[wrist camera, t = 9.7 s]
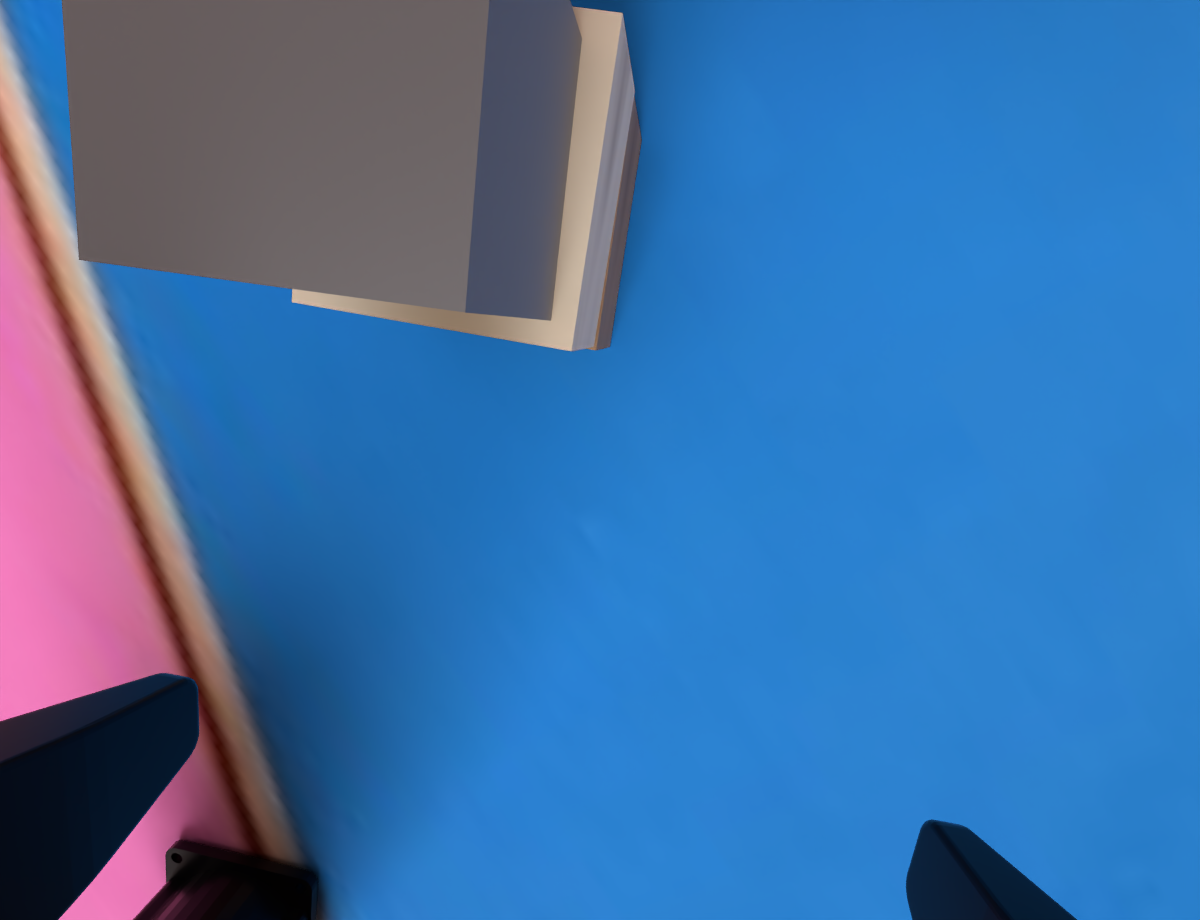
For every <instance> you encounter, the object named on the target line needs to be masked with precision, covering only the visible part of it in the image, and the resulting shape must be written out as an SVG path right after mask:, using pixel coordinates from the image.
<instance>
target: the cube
mask: <svg viewBox="0 0 1200 920" xmlns="http://www.w3.org/2000/svg"><path fill="white" fill-rule="evenodd" d="M62 10H63V25H64V40H65V55H66V70H67V85H68V100H69V115H70V130H71V145H72V160H73V175H74V190H75V205H76V220H77V235H78V250H79V260H85V261H92V262H100V263H107V264H114V265H121V266H129V267H136V268H143V269H151V270H158V271H165V272H173V273H180V274H187V275H195V276H202V277H209V278H216V279H224V280H231V281H238V282H246V283H253V284H260V285H268V286H275V287H282V288H290V289H297V290H304V291H311V292H319V293H326V294H333V295H341V296H348V297H355V298H363V299H370V300H377V301H385V302H392V303H399V304H406V305H414V306H421V307H428V308H436V309H443V310H450V311H458V312H465V313H475V314H486V315H496V316H507V317H517V318H528V319H538V320H548V321H551V317H552V308H553V299H554V290H555V281H556V272H557V263H558V253H559V244H560V235H561V226H562V217H563V208H564V199H565V190H566V181H567V172H568V162H569V153H570V144H571V135H572V126H573V117H574V108H575V99H576V90H577V80H578V71H579V62H580V53H581V44H582V37H581V33H580V30H579V27H578V24H577V20H576V17H575V14H574V11H573V8H572V4H571V1H570V0H62Z"/></svg>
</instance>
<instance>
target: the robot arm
mask: <svg viewBox="0 0 1200 920" xmlns="http://www.w3.org/2000/svg"><path fill="white" fill-rule="evenodd" d="M198 737H199V707H198V686H197V684H196V682H195V681H194V680H193V679H191V678H189V677H184V676H179V675H173V674H168V673H159V674H155V675H152V676H148V677H145V678H142V679H138V680H135V681H132V682H129V683H125V684H122V685H119V686H115V687H112V688H109V689H105V690H102V691H99V692H96V693H92V694H89V695H86V696H82V697H79V698H76V699H72V700H69V701H66V702H63V703H59V704H56V705H53V706H49V707H46V708H43V709H40V710H36V711H33V712H30V713H26V714H23V715H20V716H16V717H13V718H10V719H7V720H3V721H0V920H58V919H59V918H60V917H61V916H62V915H63V914H64V913H65V912H66V910H67V909H68V908H69V907H70V906H71V905H72V904H73V903H74V902H75V900H76V899H77V898H78V897H79V896H80V895H81V894H82V892H83V891H84V890H85V889H86V888H87V887H88V885H89V884H90V883H91V882H92V881H93V880H94V879H95V877H96V876H97V875H98V874H99V872H100V871H101V870H102V869H103V867H104V866H105V865H106V864H107V862H108V861H109V860H110V859H111V858H112V856H113V855H114V854H115V853H116V851H117V850H118V849H119V847H120V846H121V845H122V843H123V842H124V841H125V840H126V838H127V837H128V836H129V834H130V833H131V832H132V831H133V829H134V828H135V827H136V825H137V824H138V823H139V822H140V820H141V819H142V818H143V816H144V815H145V814H146V813H147V811H148V810H149V809H150V807H151V806H152V805H153V804H154V802H155V801H156V800H157V798H158V797H159V796H160V794H161V793H162V792H163V791H164V789H165V788H166V787H167V785H168V784H169V783H170V782H171V780H172V779H173V778H174V776H175V775H176V774H177V773H178V771H179V770H180V769H181V767H182V766H183V765H184V764H185V762H186V761H187V760H188V758H189V757H190V755H191V754H192V752H193V750H194V749H195V746H196V744H197V741H198ZM317 892H318V880H317V878H316V876H315V875H314V874H313V873H312V872H310V871H308V870H304V869H300V868H296V867H292V866H288V865H284V864H279V863H275V862H271V861H267V860H263V859H259V858H255V857H251V856H247V855H242V854H238V853H234V852H230V851H226V850H222V849H218V848H214V847H210V846H206V845H201V844H197V843H193V842H189V841H185V840H179V841H176V842H175V843H174V844H173V845H172V846H171V848H170V849H169V850H168V851H167V852H166V884H165V885H164V886H163V887H162V889H161V890H160V891H159V892H158V893H157V894H156V895H155V896H154V897H153V898H152V899H151V901H150V902H149V903H148V904H147V905H146V906H145V907H144V908H143V909H142V910H141V911H140V913H139V914H138V915H137V916H136V917H135V918H134V919H133V920H316V913H317ZM906 893H907V900H908V904H909V908H910V912H911V916H912V920H1077V919H1076V918H1074V917H1073V916H1072V915H1071V914H1070V913H1069V912H1067V911H1066V910H1065V909H1064V908H1063V907H1061V906H1060V905H1059V904H1058V903H1057V902H1055V901H1054V900H1053V899H1052V898H1051V897H1049V896H1048V895H1047V894H1046V893H1045V892H1044V891H1042V890H1041V889H1040V888H1039V887H1038V886H1036V885H1035V884H1034V883H1033V882H1032V881H1030V880H1029V879H1028V878H1027V877H1026V876H1025V875H1023V874H1022V873H1021V872H1020V871H1019V870H1017V869H1016V868H1015V867H1014V866H1013V865H1011V864H1010V863H1009V862H1008V861H1007V860H1005V859H1004V858H1003V857H1002V856H1001V855H1000V854H998V853H997V852H996V851H995V850H994V849H992V848H991V847H990V846H989V845H988V844H986V843H985V842H984V841H983V840H982V839H980V838H979V837H978V836H977V835H976V834H975V833H973V832H972V831H971V830H970V829H968V828H967V827H965V826H962V825H959V824H954V823H948V822H943V821H938V820H928V821H926V822H925V823H924V824H923V825H922V827H921V830H920V833H919V836H918V839H917V843H916V846H915V850H914V853H913V856H912V860H911V863H910V867H909V870H908V873H907V879H906Z"/></svg>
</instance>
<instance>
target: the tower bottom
mask: <svg viewBox="0 0 1200 920" xmlns="http://www.w3.org/2000/svg"><path fill="white" fill-rule="evenodd" d="M641 141H642V139H641V133H640V127H639V121H638V115H637V109H636V103H635V97H634V100H633V107H632V113H631V119H630V125H629V131H628V137H627V144H626V150H625V156H624V162H623V169H622V175H621V181H620V187H619V194H618V200H617V206H616V212H615V219H614V225H613V231H612V237H611V244H610V250H609V256H608V262H607V269H606V275H605V281H604V287H603V294H602V300H601V306H600V312H599V318H598V325H597V331H596V337H595V343H594V347H591V348H585V349H591V350H599V349H603V348H607V347H610V343H611V336H612V330H613V323H614V317H615V310H616V304H617V297H618V291H619V284H620V278H621V271H622V265H623V258H624V252H625V245H626V239H627V232H628V225H629V219H630V212H631V206H632V199H633V193H634V186H635V180H636V173H637V167H638V160H639V154H640V147H641Z"/></svg>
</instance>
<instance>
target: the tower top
mask: <svg viewBox="0 0 1200 920" xmlns="http://www.w3.org/2000/svg"><path fill="white" fill-rule="evenodd" d="M572 8H573V11H574V14H575V17H576V20H577V24H578V27H579V30H580V33H581V37H582V44H581V53H580V62H579V71H578V80H577V90H576V99H575V108H574V117H573V126H572V135H571V144H570V153H569V162H568V172H567V181H566V190H565V199H564V208H563V217H562V226H561V235H560V244H559V253H558V263H557V272H556V281H555V290H554V299H553V308H552V317H551V321H548V320H538V319H528V318H517V317H507V316H496V315H486V314H475V313H465V312H458V311H450V310H443V309H436V308H428V307H421V306H414V305H406V304H399V303H392V302H385V301H377V300H370V299H363V298H355V297H348V296H341V295H333V294H326V293H319V292H311V291H304V290H297V289H292V302H294V303H299V304H305V305H311V306H316V307H322V308H328V309H333V310H339V311H345V312H351V313H356V314H362V315H368V316H373V317H379V318H385V319H390V320H396V321H402V322H408V323H413V324H419V325H425V326H430V327H436V328H442V329H447V330H453V331H459V332H465V333H470V334H476V335H482V336H487V337H493V338H499V339H504V340H510V341H516V342H522V343H527V344H533V345H539V346H544V347H550V348H556V349H561V350H567V351H575V350H580V349H585V348H591V347H594V343H595V337H596V331H597V325H598V318H599V312H600V306H601V300H602V294H603V287H604V281H605V275H606V269H607V262H608V256H609V250H610V244H611V237H612V231H613V225H614V219H615V212H616V206H617V200H618V194H619V187H620V181H621V175H622V169H623V162H624V156H625V150H626V144H627V137H628V131H629V125H630V119H631V113H632V107H633V100H634V94H635V88H634V82H633V75H632V69H631V62H630V56H629V50H628V43H627V37H626V30H625V24H624V18H623V13H619V12H611V11H604V10H596V9H588V8H580V7H572Z"/></svg>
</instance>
